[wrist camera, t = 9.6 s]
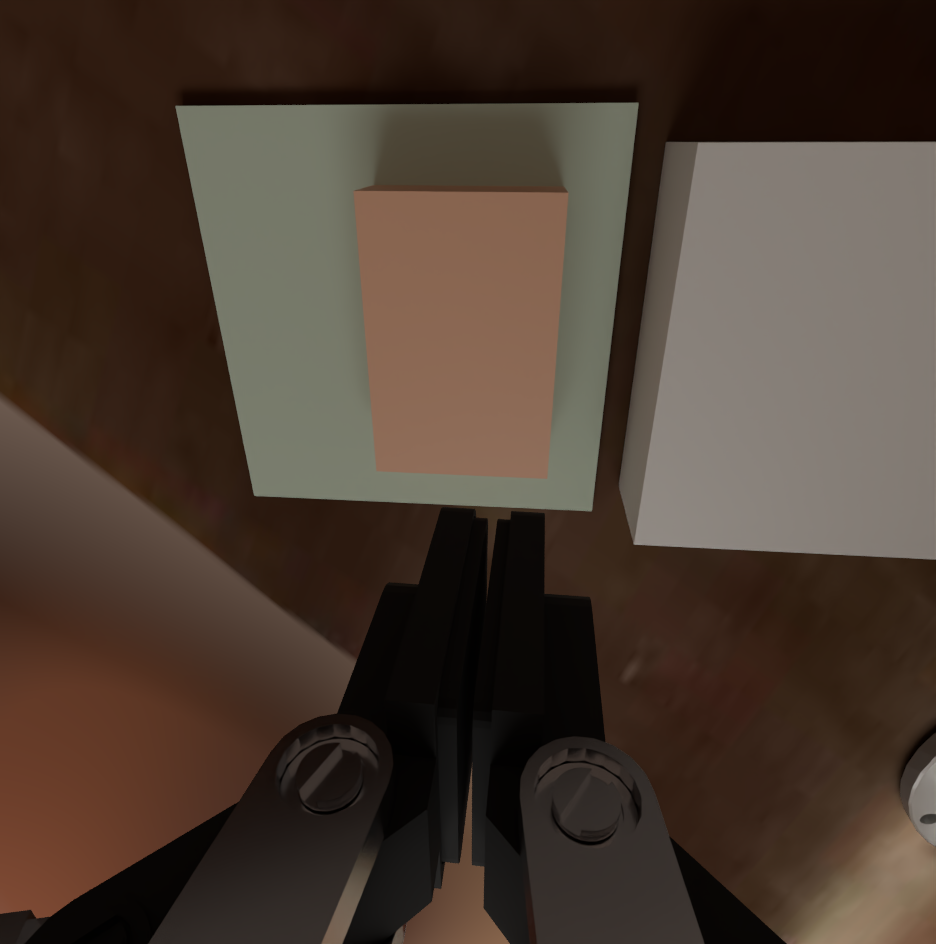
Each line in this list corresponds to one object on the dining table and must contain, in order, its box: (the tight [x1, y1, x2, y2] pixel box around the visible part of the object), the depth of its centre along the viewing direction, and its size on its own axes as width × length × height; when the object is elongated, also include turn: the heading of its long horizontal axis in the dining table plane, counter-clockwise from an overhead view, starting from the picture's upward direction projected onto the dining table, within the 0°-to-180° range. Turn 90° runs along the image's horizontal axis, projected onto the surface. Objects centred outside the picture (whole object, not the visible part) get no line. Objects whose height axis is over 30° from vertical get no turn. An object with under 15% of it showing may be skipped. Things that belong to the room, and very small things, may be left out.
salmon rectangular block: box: [353, 185, 569, 479], centre depth 20 cm, size 9×6×2 cm, turn 0°
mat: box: [176, 103, 639, 511], centre depth 22 cm, size 14×14×1 cm
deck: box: [619, 141, 936, 559], centre depth 19 cm, size 12×12×4 cm
